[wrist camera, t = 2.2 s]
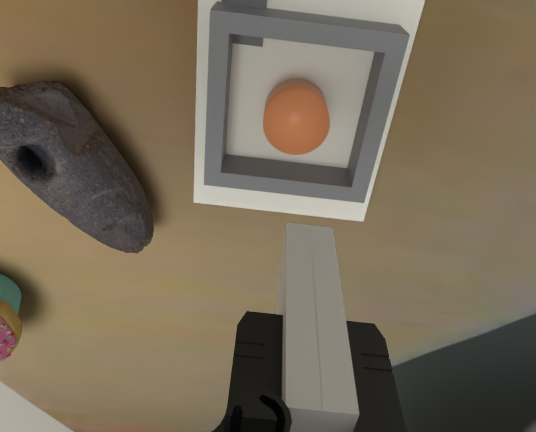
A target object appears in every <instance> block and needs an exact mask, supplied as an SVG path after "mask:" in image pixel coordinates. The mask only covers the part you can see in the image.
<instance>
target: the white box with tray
mask: <svg viewBox="0 0 536 432" xmlns="http://www.w3.org/2000/svg"><path fill="white" fill-rule="evenodd" d="M424 2H425V0H198V26H197V71H196V117H195V162H194V203H203V204H212V205H220V206H229V207H238V208H247V209H256V210H265V211H274V212H283V213H291V214H300V215H309V216H318V217H327V218H336V219H345V220H354V221H362V222H363V221H364V217H365V214H366V210H367V207H368V203H369V200H370V196H371V192H372V189H373V185H374V182H375V178H376V174H377V171H378V167H379V164H380V160H381V157H382V153H383V149H384V146H385V142H386V139H387V135H388V131H389V128H390V124H391V121H392V117H393V114H394V110H395V106H396V103H397V99H398V96H399V92H400V88H401V85H402V81H403V78H404V74H405V71H406V67H407V63H408V60H409V56H410V53H411V49H412V45H413V42H414V38H415V35H416V31H417V28H418V24H419V20H420V17H421V13H422V10H423V6H424ZM294 78H299V79H305V80H308V81H310V82H312V83H314V84H315V85H316V86H318V87H319V89H320V90H321V91H322V93H323V94H324V96H325V99H326V103H327V108H328V113H329V118H330V128H329V132H328V135H327V137H326V139H325V140H324V141H323V143H322V144H321V145H320V146H319V147H318V148H316V149H315V150H313V151H311V152H309V153H306V154H301V155H290V154H286V153H283V152H281V151H279V150H277V149H276V148H274V147H273V146H272V145H271V144H270V143H269V141H268V140H267V138H266V136H265V133H264V130H263V118H264V109H265V102H266V99H267V97H268V95H269V93H270V91H271V90H272V89H273V88H274V87H275V86H276V85H278V84H279V83H281V82H283V81H285V80H288V79H294Z"/></svg>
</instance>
